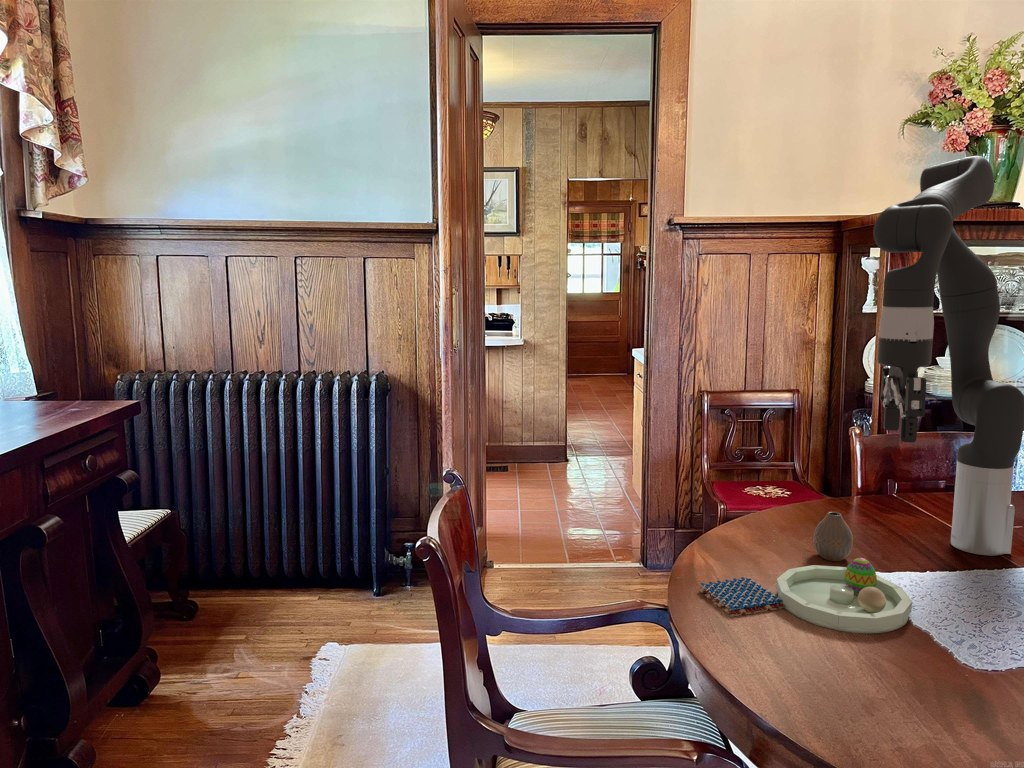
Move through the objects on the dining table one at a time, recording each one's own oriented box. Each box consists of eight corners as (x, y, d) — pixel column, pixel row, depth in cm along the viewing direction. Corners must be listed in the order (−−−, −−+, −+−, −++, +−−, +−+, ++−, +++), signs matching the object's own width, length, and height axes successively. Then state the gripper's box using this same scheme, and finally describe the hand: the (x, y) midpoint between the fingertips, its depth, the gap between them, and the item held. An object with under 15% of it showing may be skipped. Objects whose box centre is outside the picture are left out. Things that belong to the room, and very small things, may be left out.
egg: (838, 591, 122) (840, 557, 121) (852, 583, 125) (854, 550, 124) (867, 601, 118) (869, 566, 117) (881, 592, 121) (883, 559, 120)
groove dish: (887, 584, 126) (888, 569, 126) (927, 638, 107) (928, 622, 107) (770, 576, 130) (771, 562, 130) (788, 627, 111) (788, 611, 111)
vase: (856, 565, 134) (858, 520, 133) (816, 563, 136) (819, 518, 135) (846, 551, 141) (849, 508, 140) (809, 549, 143) (811, 507, 141)
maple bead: (880, 606, 116) (883, 583, 115) (888, 618, 112) (890, 594, 111) (854, 604, 117) (856, 581, 116) (860, 616, 113) (862, 592, 112)
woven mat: (731, 621, 115) (731, 609, 114) (696, 593, 125) (697, 582, 125) (787, 612, 118) (788, 600, 117) (749, 585, 128) (749, 574, 127)
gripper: (867, 331, 121) (862, 426, 124) (893, 339, 107) (886, 445, 110) (916, 331, 120) (909, 427, 122) (949, 339, 106) (941, 446, 108)
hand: (899, 435), depth 116 cm, fingers open, 8 cm apart
